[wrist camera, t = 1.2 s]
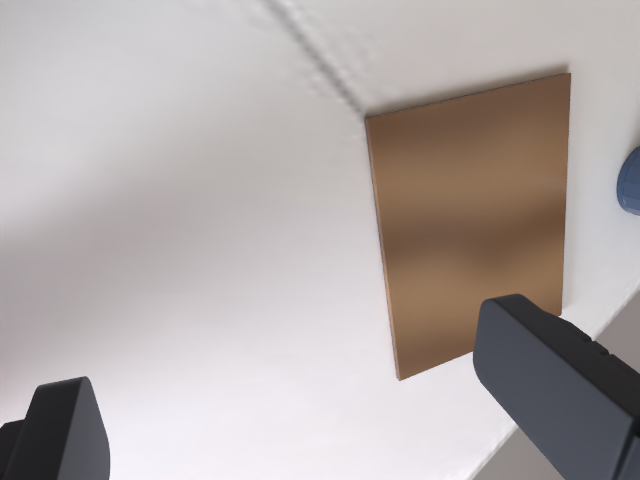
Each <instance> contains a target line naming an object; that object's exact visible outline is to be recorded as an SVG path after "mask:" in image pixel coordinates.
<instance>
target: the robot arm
mask: <svg viewBox="0 0 640 480" xmlns="http://www.w3.org/2000/svg"><path fill="white" fill-rule="evenodd" d="M473 364H474V368H475V372H476V374H477V376H478V378H479V380H480V382H481V383H482V384H483V386H484V387H485V388H486V389H487V390H488V391H489V392H490V394H491V395H492V396H493V397H494V398H495V399H496V401H497V402H498V403H499V404H500V405H501V406H502V407H503V409H504V410H505V411H506V412H507V413H508V414H509V415H510V417H511V418H512V419H513V420H514V421H515V422H516V424H517V425H518V426H519V427H520V428H521V429H522V430H523V432H524V433H525V434H526V435H527V436H528V437H529V439H530V440H531V441H532V442H533V443H534V444H535V445H536V447H537V448H538V449H539V450H540V451H541V452H542V453H543V455H544V456H545V457H546V458H547V459H548V460H549V462H550V463H551V464H552V465H553V466H554V467H555V469H556V470H557V471H558V472H559V473H560V474H561V475H562V477H563V478H564V479H565V480H640V374H639V373H638V372H636V371H635V370H634V369H632V368H631V367H630V366H628V365H627V364H626V363H624V362H623V361H622V360H620V359H619V358H617V357H616V356H615V355H614V354H611V355H610V354H609V352H608V350H607V349H606V348H604V347H603V346H602V345H600V344H599V343H597V342H596V341H592V340H591V337H589V336H588V335H587V334H585V333H584V332H583V331H581V330H580V329H579V328H577V327H576V326H575V325H573V324H572V323H571V322H568V321H566V320H564V319H562V318H559V317H557V316H555V315H553V314H551V313H548V312H546V311H543V310H542V309H541V308H539V307H538V306H537V305H535V304H534V303H533V302H532V301H530V300H529V299H528V298H526V297H525V296H523V295H521V294H518V293H516V294H510V295H505V296H500V297H495V298H490V299H486V300H484V301H483V302H482V304H481V306H480V311H479V318H478V324H477V331H476V338H475V344H474V351H473ZM109 476H110V449H109V442H108V438H107V434H106V431H105V428H104V424H103V421H102V418H101V414H100V411H99V408H98V404H97V401H96V398H95V394H94V391H93V388H92V385H91V382H90V380H89V378H88V377H86V376H84V377H79V378H74V379H69V380H64V381H59V382H54V383H48V384H43V385H39V386H38V387H37V389H36V390H35V393H34V395H33V398H32V401H31V403H30V406H29V409H28V411H27V414H26V417H25V419H23V420H18V421H13V422H9V423H5V424H4V425H3V426H2V427H1V428H0V480H109Z"/></svg>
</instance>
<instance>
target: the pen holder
mask: <svg viewBox="0 0 640 480" xmlns="http://www.w3.org/2000/svg"><path fill="white" fill-rule="evenodd" d="M617 197H618V201H619V204H620V206H621V207H622V208H623V209H624V210H625V211H626V212H628V213H632V214H634V215H638V216H640V146H639V147H638V148H636V149H635V150H634V151H633V152H632V153H631V154H630V156H629V157H628V158H627V160H626V162H625V163H624V165H623V167H622V169H621V172H620V175H619V178H618V183H617Z"/></svg>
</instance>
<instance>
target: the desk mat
mask: <svg viewBox="0 0 640 480" xmlns="http://www.w3.org/2000/svg"><path fill="white" fill-rule="evenodd" d="M570 86H571V73H563V74H559V75H555V76H550V77H546V78H541V79H537V80H533V81H528V82H524V83H519V84H515V85H511V86H506V87H502V88H497V89H493V90H489V91H484V92H480V93H476V94H471V95H467V96H462V97H458V98H454V99H449V100H445V101H440V102H436V103H432V104H427V105H423V106H418V107H414V108H410V109H405V110H401V111H396V112H392V113H388V114H383V115H379V116H375V117H370V118H366V119H365V126H366V134H367V142H368V150H369V158H370V166H371V174H372V182H373V190H374V198H375V206H376V214H377V222H378V230H379V238H380V246H381V254H382V263H383V271H384V279H385V287H386V295H387V303H388V311H389V319H390V327H391V335H392V343H393V351H394V359H395V367H396V375H397V378H398V380H399V381H401V380H404V379H406V378H409V377H411V376H414V375H416V374H418V373H421V372H423V371H426V370H428V369H431V368H433V367H436V366H438V365H440V364H443V363H445V362H448V361H450V360H453V359H455V358H458V357H460V356H462V355H465V354H467V353H470V352H472V351H474V344H475V338H476V331H477V324H478V318H479V311H480V306H481V304H482V302H483V301H484V300H486V299H490V298H495V297H500V296H505V295H510V294H516V293H518V294H521V295H523V296H525V297H526V298H528V299H529V300H530V301H532V302H533V303H534V304H535V305H537V306H538V307H539V308H541V309H542V310H543V311H546V312H548V313H551V314H553V315H555V316H557V317H558V316H560V315H561V313H562V288H563V262H564V237H565V212H566V187H567V162H568V137H569V111H570Z"/></svg>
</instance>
